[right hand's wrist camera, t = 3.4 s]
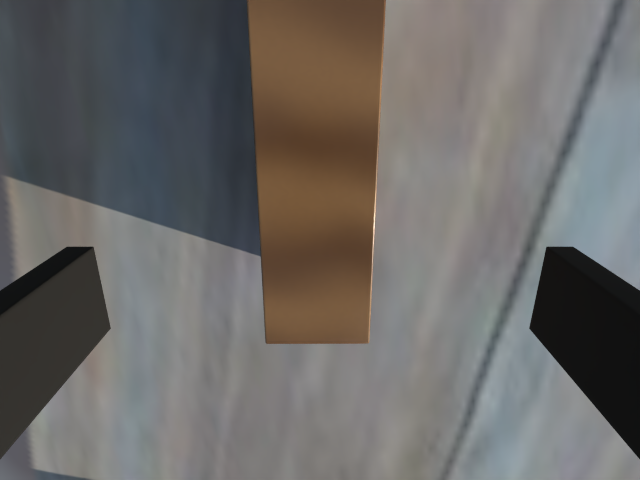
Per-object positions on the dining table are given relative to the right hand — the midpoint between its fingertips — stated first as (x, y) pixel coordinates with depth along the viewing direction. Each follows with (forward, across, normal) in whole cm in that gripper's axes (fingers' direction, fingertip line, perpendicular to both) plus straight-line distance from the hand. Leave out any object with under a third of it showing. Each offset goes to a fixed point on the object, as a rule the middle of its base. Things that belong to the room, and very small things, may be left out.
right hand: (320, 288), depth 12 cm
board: (+14, 0, -20) cm, 24 cm away
